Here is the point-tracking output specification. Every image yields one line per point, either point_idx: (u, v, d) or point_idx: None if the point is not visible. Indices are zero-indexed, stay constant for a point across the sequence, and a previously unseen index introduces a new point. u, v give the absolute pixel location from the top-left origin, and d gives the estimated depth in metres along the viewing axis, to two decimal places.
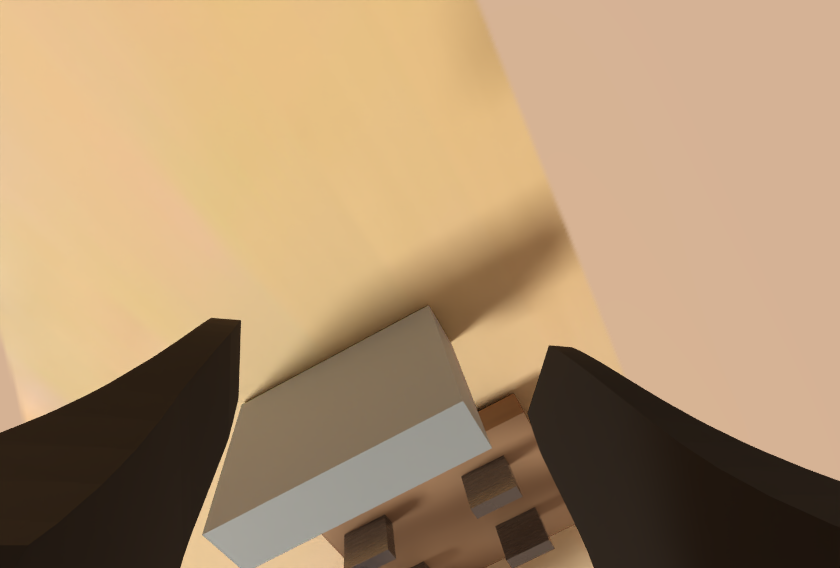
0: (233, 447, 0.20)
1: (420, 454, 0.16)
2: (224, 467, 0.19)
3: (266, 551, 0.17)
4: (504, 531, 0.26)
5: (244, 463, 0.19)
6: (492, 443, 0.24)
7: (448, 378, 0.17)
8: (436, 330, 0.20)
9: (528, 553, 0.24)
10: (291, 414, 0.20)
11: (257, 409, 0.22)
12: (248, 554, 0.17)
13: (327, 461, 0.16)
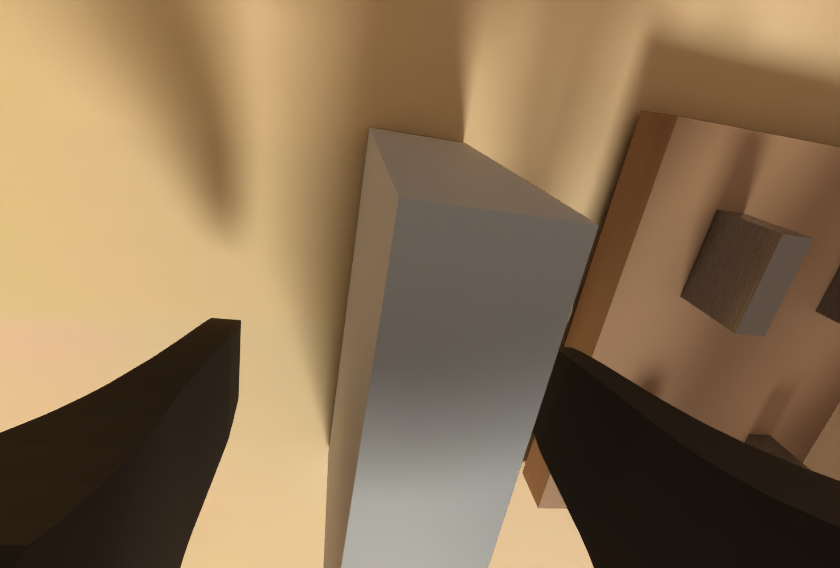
0: (325, 526, 0.13)
1: (463, 374, 0.06)
2: None
3: None
4: (838, 307, 0.13)
5: (327, 553, 0.11)
6: (679, 210, 0.12)
7: (386, 187, 0.07)
8: (374, 142, 0.09)
9: None
10: (337, 439, 0.12)
11: (331, 450, 0.14)
12: None
13: (346, 509, 0.08)
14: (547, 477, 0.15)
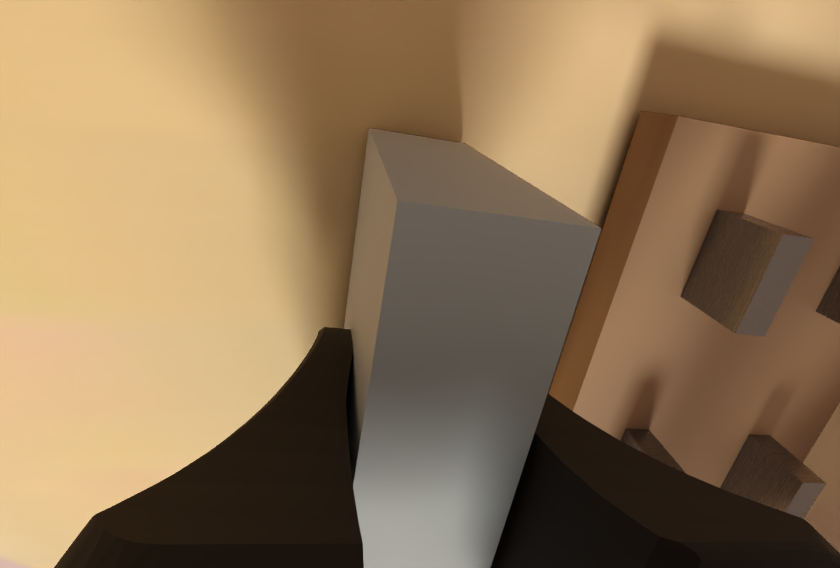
0: None
1: (463, 379, 0.06)
2: None
3: None
4: (838, 307, 0.13)
5: None
6: (679, 210, 0.12)
7: (385, 189, 0.06)
8: (373, 143, 0.09)
9: None
10: None
11: None
12: None
13: None
14: None
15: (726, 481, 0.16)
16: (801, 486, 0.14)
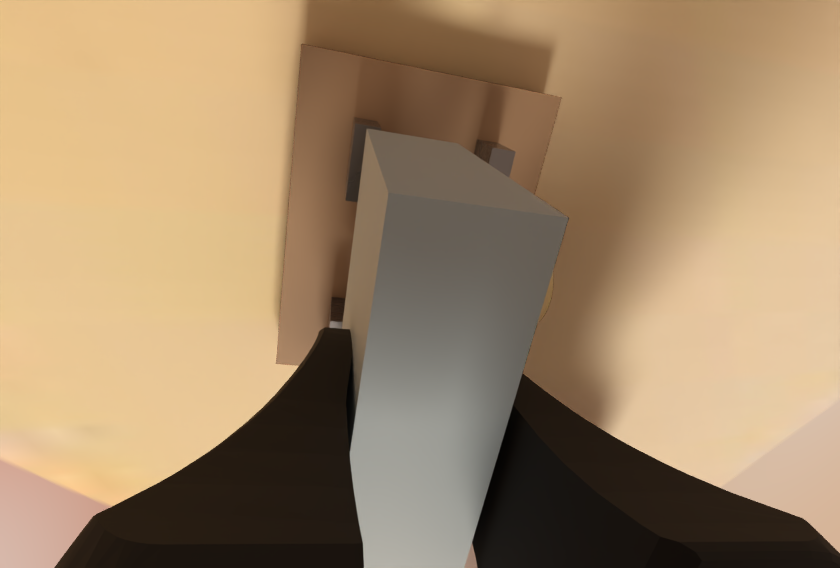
0: None
1: (448, 353, 0.07)
2: None
3: None
4: None
5: None
6: (324, 117, 0.16)
7: (378, 184, 0.07)
8: (370, 143, 0.10)
9: None
10: None
11: None
12: None
13: None
14: (278, 337, 0.19)
15: None
16: None
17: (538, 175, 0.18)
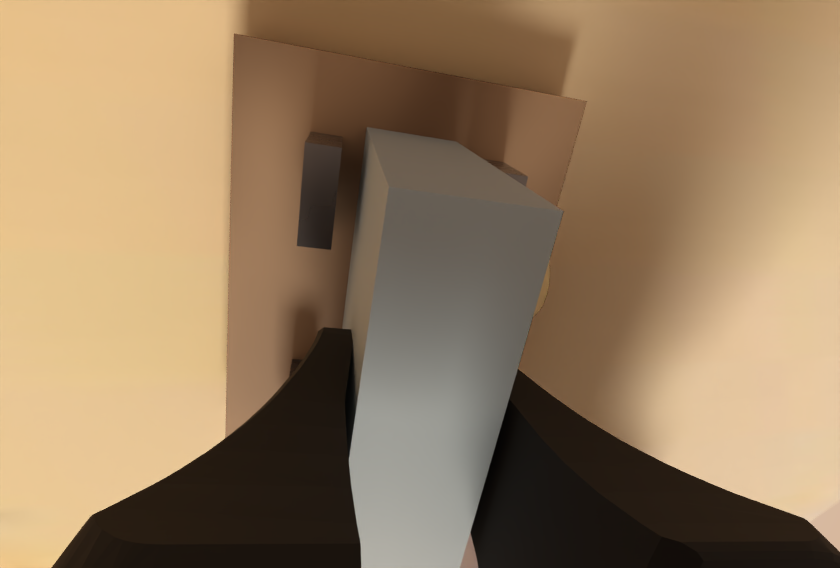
0: None
1: (447, 343, 0.07)
2: None
3: None
4: None
5: None
6: (270, 132, 0.12)
7: (379, 179, 0.07)
8: (370, 141, 0.10)
9: None
10: None
11: None
12: None
13: None
14: (226, 409, 0.15)
15: None
16: None
17: (556, 202, 0.14)
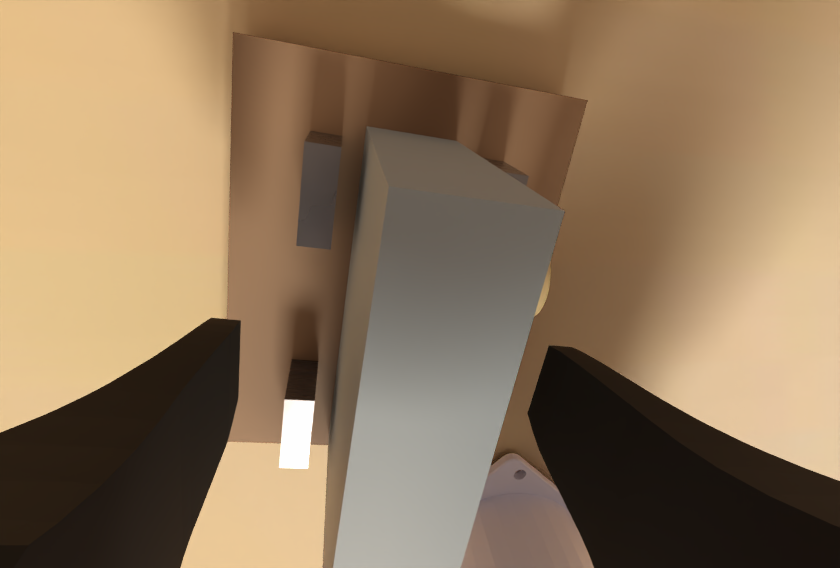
0: (326, 501, 0.13)
1: (447, 344, 0.07)
2: (324, 537, 0.12)
3: None
4: None
5: (327, 522, 0.12)
6: (269, 131, 0.12)
7: (378, 179, 0.07)
8: (370, 140, 0.10)
9: None
10: (336, 417, 0.12)
11: (331, 431, 0.15)
12: None
13: (344, 471, 0.08)
14: None
15: None
16: None
17: (556, 202, 0.14)
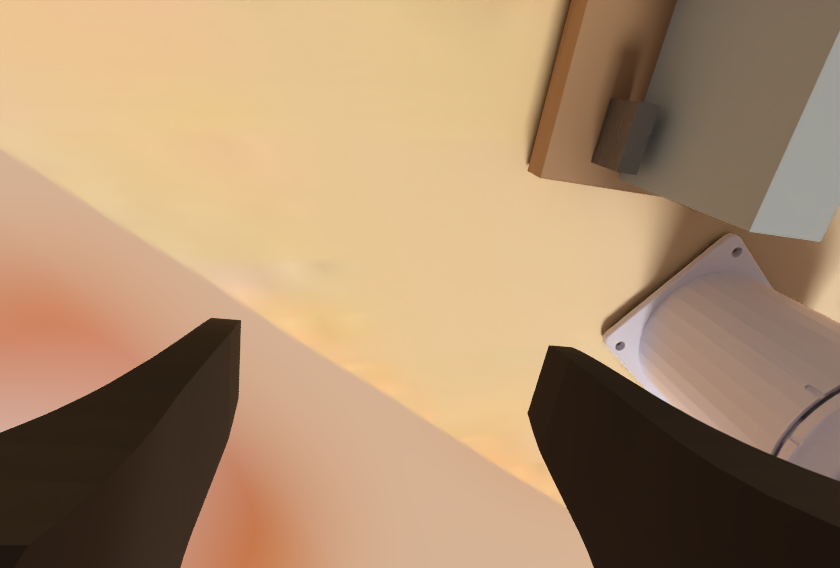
0: (665, 189, 0.17)
1: None
2: (681, 201, 0.16)
3: (828, 198, 0.13)
4: None
5: (701, 172, 0.15)
6: None
7: None
8: None
9: None
10: (693, 105, 0.16)
11: None
12: (811, 217, 0.13)
13: (821, 35, 0.12)
14: (548, 146, 0.19)
15: None
16: None
17: None
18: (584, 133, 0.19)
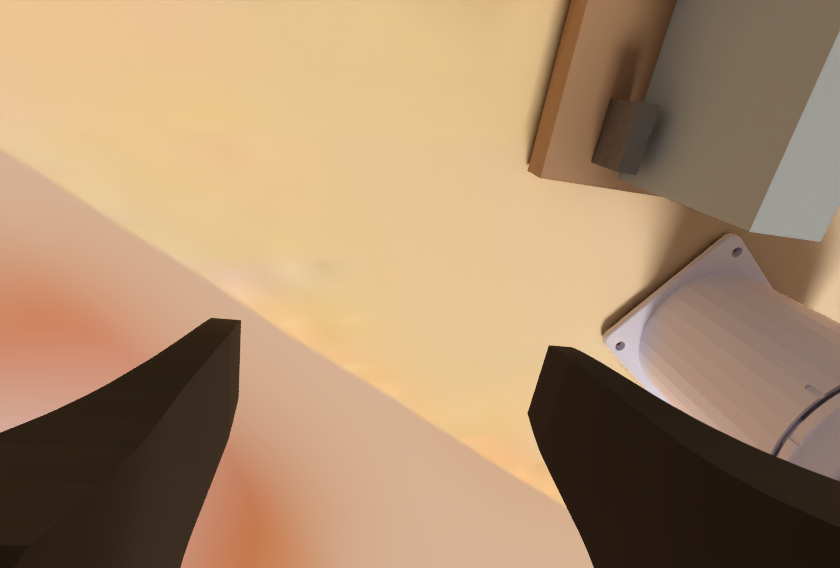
0: (665, 189, 0.17)
1: None
2: (681, 201, 0.16)
3: (828, 198, 0.13)
4: None
5: (701, 172, 0.15)
6: None
7: None
8: None
9: None
10: (693, 105, 0.16)
11: None
12: (811, 217, 0.13)
13: (821, 35, 0.12)
14: (548, 146, 0.19)
15: None
16: None
17: None
18: (584, 133, 0.19)
